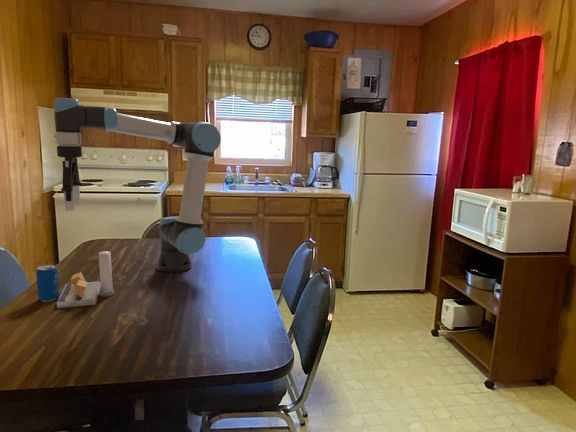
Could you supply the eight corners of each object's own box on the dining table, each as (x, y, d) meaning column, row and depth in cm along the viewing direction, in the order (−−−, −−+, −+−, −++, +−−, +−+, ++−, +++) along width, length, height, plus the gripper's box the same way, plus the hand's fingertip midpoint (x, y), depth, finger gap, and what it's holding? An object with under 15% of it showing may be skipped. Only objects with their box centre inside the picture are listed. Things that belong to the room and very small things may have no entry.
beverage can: (50, 303, 145) (47, 270, 142) (34, 301, 146) (31, 269, 144) (63, 296, 151) (61, 265, 149) (48, 294, 152) (45, 263, 150)
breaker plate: (100, 286, 162) (100, 280, 162) (95, 304, 145) (95, 298, 145) (66, 289, 158) (65, 283, 158) (57, 308, 142) (56, 301, 141)
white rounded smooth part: (115, 290, 158) (112, 250, 155) (114, 296, 153) (111, 254, 150) (100, 292, 156) (97, 251, 153) (98, 297, 151) (96, 255, 148)
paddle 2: (83, 293, 150) (87, 281, 150) (81, 299, 145) (85, 287, 145) (75, 291, 149) (79, 279, 149) (72, 297, 144) (76, 285, 144)
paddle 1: (86, 282, 158) (81, 271, 157) (84, 287, 153) (78, 276, 152) (78, 285, 158) (73, 274, 156) (76, 290, 153) (70, 280, 151)
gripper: (63, 143, 151) (67, 201, 155) (48, 146, 128) (53, 214, 132) (86, 144, 154) (89, 200, 158) (75, 147, 131) (79, 213, 135)
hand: (73, 207), depth 145 cm, fingers open, 13 cm apart
